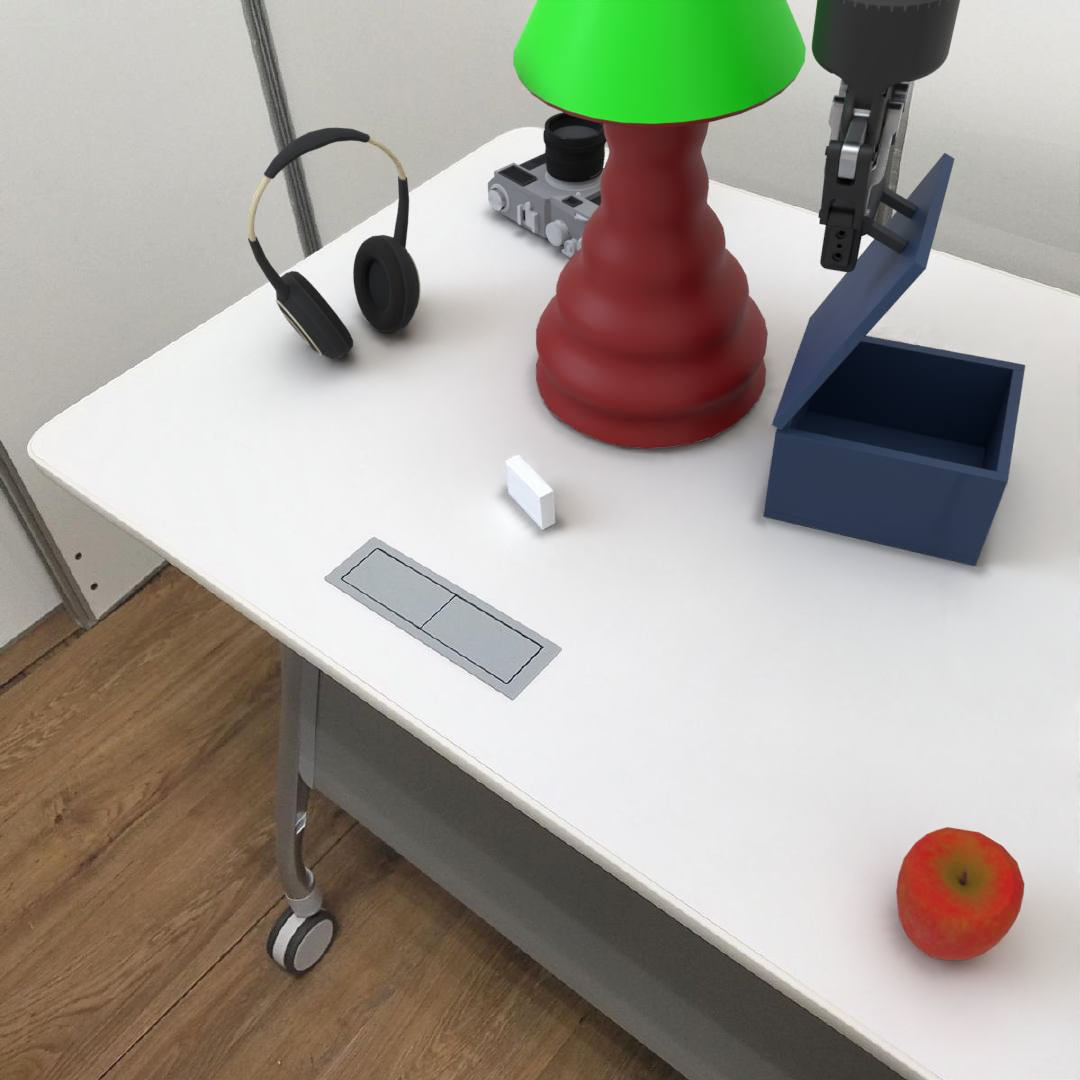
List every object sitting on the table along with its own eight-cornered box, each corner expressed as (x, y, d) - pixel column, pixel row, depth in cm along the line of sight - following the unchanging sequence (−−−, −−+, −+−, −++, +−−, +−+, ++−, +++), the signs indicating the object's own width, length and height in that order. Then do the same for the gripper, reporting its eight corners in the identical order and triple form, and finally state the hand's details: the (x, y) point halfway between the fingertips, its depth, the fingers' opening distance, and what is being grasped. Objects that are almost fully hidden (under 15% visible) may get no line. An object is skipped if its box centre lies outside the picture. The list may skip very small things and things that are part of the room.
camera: (679, 146, 102) (603, 184, 97) (671, 242, 109) (600, 281, 104) (550, 86, 111) (474, 118, 106) (550, 178, 118) (480, 212, 113)
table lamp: (808, 356, 96) (911, -268, 62) (678, 489, 86) (715, -163, 52) (625, 278, 104) (627, -304, 71) (489, 391, 95) (416, -220, 61)
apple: (951, 858, 65) (982, 798, 59) (1019, 953, 61) (1059, 898, 56) (860, 899, 64) (883, 841, 58) (923, 999, 60) (955, 948, 54)
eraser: (542, 530, 84) (539, 497, 81) (508, 493, 87) (504, 460, 84) (555, 523, 84) (553, 490, 82) (521, 487, 87) (517, 453, 84)
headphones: (451, 327, 101) (421, 123, 86) (308, 394, 96) (250, 190, 81) (404, 284, 106) (368, 84, 91) (266, 346, 101) (204, 144, 86)
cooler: (994, 450, 87) (1025, 364, 80) (975, 566, 79) (1007, 482, 73) (799, 410, 91) (812, 325, 85) (763, 516, 84) (775, 432, 77)
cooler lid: (955, 158, 71) (890, 118, 71) (926, 268, 64) (853, 224, 63) (818, 323, 84) (762, 290, 84) (780, 430, 77) (719, 395, 76)
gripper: (946, 36, 53) (886, 318, 66) (981, -76, 62) (921, 193, 75) (793, 21, 55) (763, 297, 68) (847, -86, 64) (811, 177, 77)
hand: (846, 241), depth 71 cm, fingers closed on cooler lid, 5 cm apart
